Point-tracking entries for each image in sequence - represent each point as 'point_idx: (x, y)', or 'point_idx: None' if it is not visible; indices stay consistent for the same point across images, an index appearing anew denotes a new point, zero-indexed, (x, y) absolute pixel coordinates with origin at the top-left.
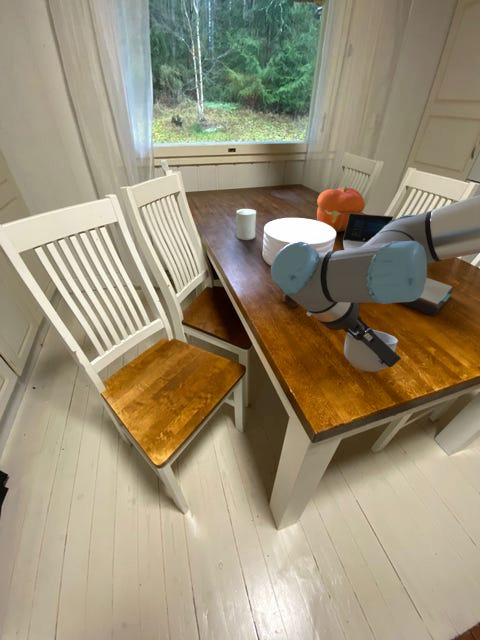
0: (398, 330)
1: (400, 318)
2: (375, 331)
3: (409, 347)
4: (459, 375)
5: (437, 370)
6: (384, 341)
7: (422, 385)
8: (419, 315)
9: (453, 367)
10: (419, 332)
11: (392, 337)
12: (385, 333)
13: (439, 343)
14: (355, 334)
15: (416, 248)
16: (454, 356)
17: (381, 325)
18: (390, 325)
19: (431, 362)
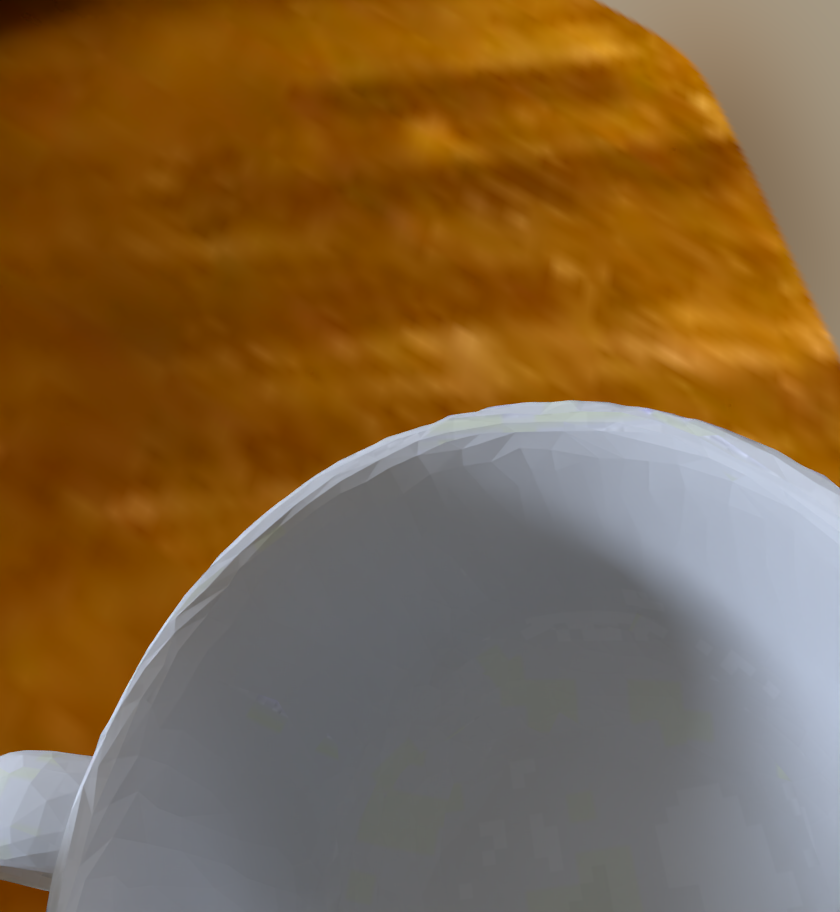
0: (157, 221)
1: (38, 132)
2: (254, 555)
3: (368, 257)
4: (702, 129)
5: (643, 221)
6: (450, 525)
7: (799, 412)
8: (76, 11)
9: (624, 118)
10: (238, 106)
11: (533, 431)
12: (373, 456)
13: (385, 63)
14: (155, 893)
15: None
16: (525, 58)
17: (38, 310)
18: (74, 243)
19: (558, 210)
